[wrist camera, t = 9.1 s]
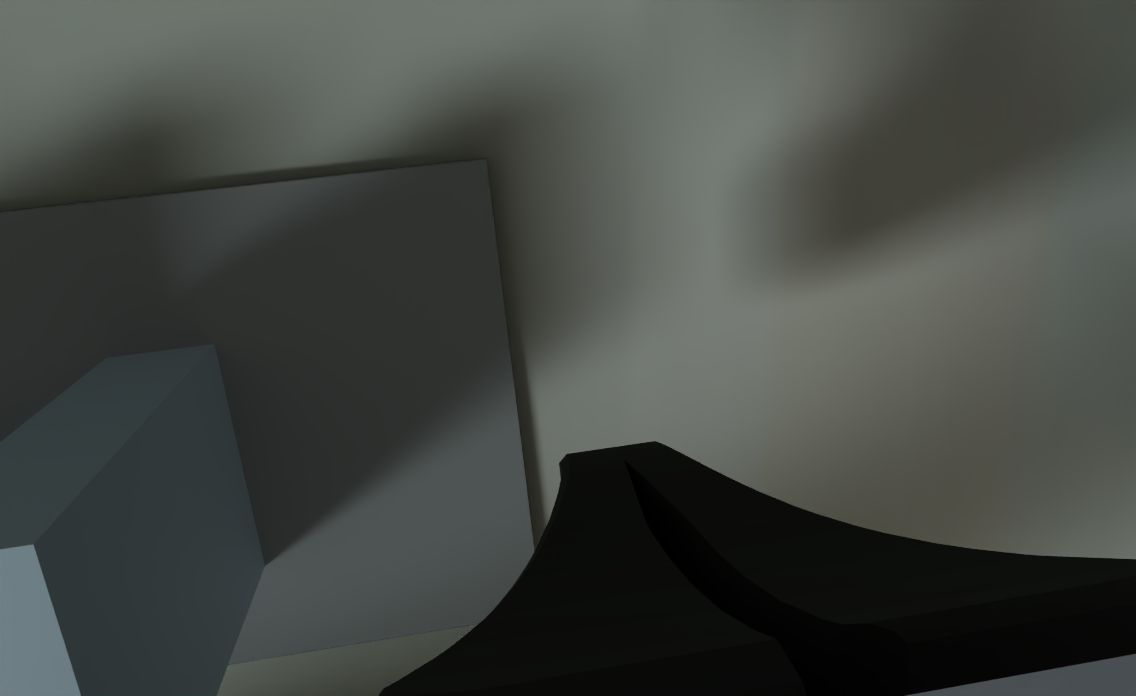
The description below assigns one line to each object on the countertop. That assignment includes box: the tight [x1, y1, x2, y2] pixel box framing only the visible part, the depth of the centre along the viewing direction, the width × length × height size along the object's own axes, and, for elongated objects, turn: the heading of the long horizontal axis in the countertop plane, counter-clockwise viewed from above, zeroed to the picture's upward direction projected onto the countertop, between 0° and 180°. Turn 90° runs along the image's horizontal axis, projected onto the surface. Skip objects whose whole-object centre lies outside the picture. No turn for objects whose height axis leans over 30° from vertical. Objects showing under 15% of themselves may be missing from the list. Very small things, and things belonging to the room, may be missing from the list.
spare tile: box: [0, 344, 265, 696], centre depth 12 cm, size 2×4×7 cm, turn 6°
